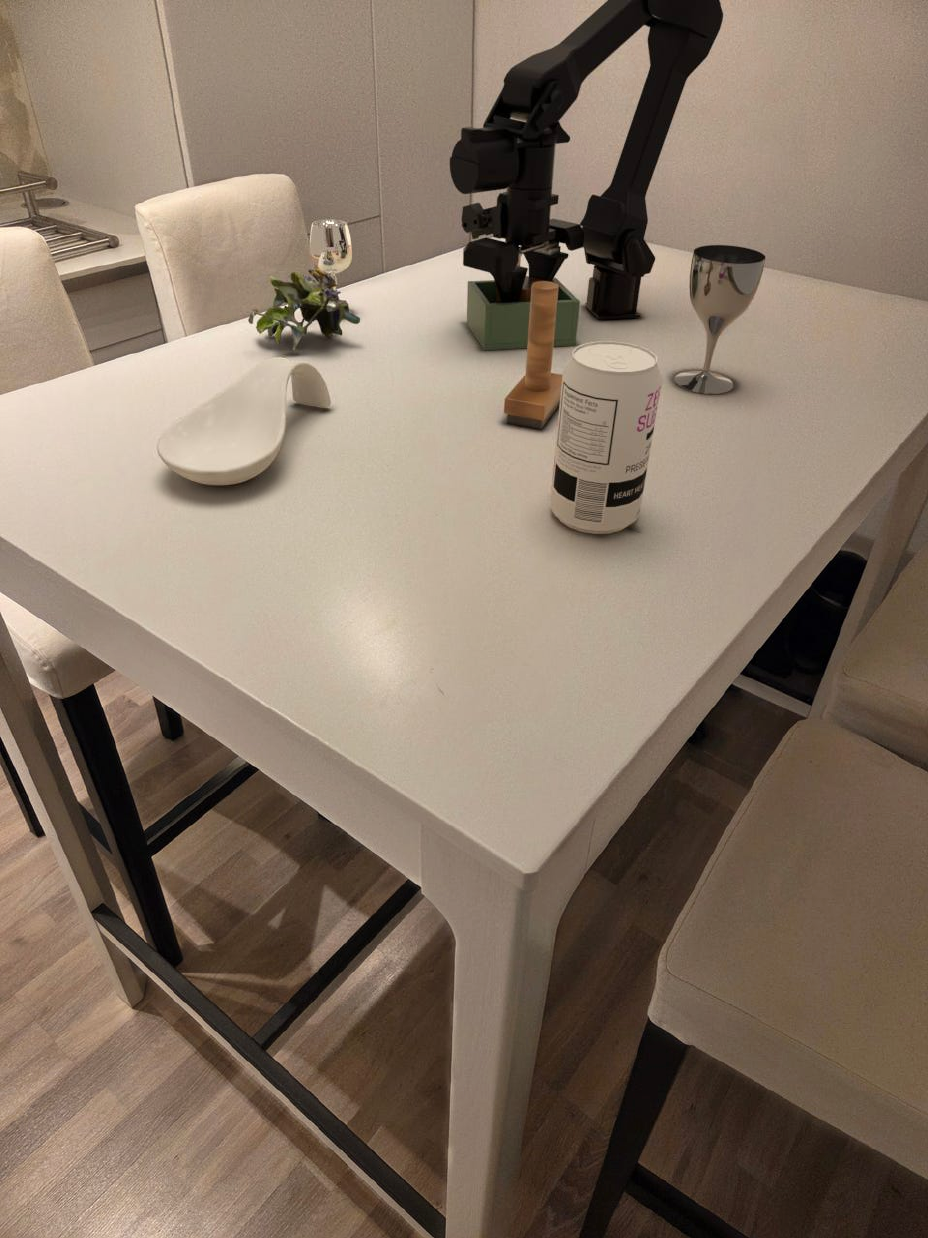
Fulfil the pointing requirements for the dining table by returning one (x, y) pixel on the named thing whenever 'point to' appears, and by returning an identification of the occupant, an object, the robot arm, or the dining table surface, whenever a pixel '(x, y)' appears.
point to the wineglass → (330, 246)
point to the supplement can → (604, 435)
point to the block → (525, 291)
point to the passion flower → (305, 306)
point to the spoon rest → (240, 424)
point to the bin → (515, 317)
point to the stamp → (537, 364)
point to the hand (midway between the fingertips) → (521, 312)
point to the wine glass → (719, 302)
